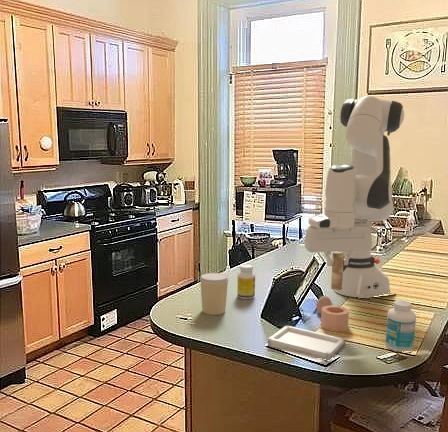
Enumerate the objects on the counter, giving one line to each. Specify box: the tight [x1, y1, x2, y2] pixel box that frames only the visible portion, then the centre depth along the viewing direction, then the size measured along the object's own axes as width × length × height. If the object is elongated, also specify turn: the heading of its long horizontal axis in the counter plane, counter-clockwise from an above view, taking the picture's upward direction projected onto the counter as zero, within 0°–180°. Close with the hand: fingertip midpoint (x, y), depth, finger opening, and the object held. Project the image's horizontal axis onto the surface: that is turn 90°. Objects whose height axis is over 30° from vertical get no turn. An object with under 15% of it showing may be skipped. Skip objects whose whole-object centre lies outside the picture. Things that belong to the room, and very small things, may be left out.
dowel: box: [330, 251, 344, 291], centre depth 150 cm, size 3×3×11 cm
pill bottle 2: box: [385, 299, 417, 352], centre depth 138 cm, size 8×7×14 cm
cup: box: [320, 304, 350, 332], centre depth 153 cm, size 8×8×6 cm
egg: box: [315, 295, 333, 316], centre depth 163 cm, size 5×5×7 cm
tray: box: [267, 324, 346, 360], centre depth 140 cm, size 18×12×2 cm, turn 57°
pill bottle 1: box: [236, 264, 256, 300], centre depth 182 cm, size 6×6×12 cm
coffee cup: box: [199, 272, 229, 316], centre depth 166 cm, size 9×9×12 cm
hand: (337, 265), depth 150 cm, fingers closed on dowel, 3 cm apart
